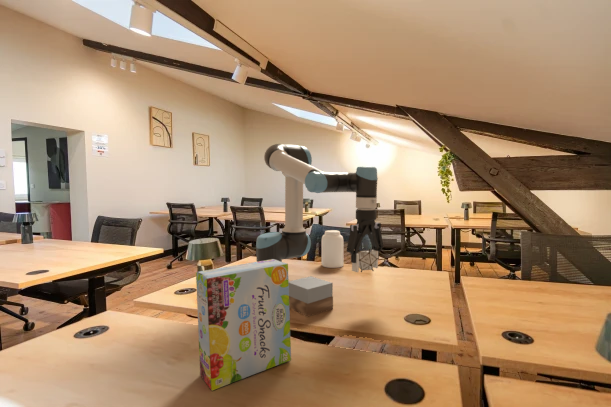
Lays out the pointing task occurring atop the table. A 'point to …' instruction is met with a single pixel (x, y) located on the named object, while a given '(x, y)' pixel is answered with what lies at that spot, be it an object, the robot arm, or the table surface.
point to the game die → (366, 260)
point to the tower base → (311, 306)
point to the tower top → (310, 289)
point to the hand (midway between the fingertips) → (365, 269)
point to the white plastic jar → (332, 249)
